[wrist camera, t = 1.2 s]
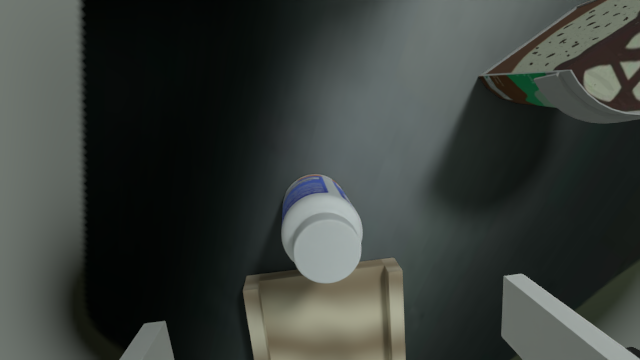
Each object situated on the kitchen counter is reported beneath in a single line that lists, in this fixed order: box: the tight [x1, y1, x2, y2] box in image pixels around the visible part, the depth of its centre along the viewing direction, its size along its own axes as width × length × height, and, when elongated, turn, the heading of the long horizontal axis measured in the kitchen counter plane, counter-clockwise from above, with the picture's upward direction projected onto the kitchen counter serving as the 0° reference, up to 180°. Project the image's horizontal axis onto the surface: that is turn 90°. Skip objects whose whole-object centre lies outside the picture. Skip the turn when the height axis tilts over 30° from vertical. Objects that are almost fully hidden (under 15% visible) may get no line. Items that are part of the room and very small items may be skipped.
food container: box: [479, 0, 640, 124], centre depth 22 cm, size 12×6×10 cm, turn 126°
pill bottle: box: [281, 174, 363, 283], centre depth 23 cm, size 5×5×10 cm
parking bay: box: [243, 258, 405, 360], centre depth 29 cm, size 15×13×4 cm
